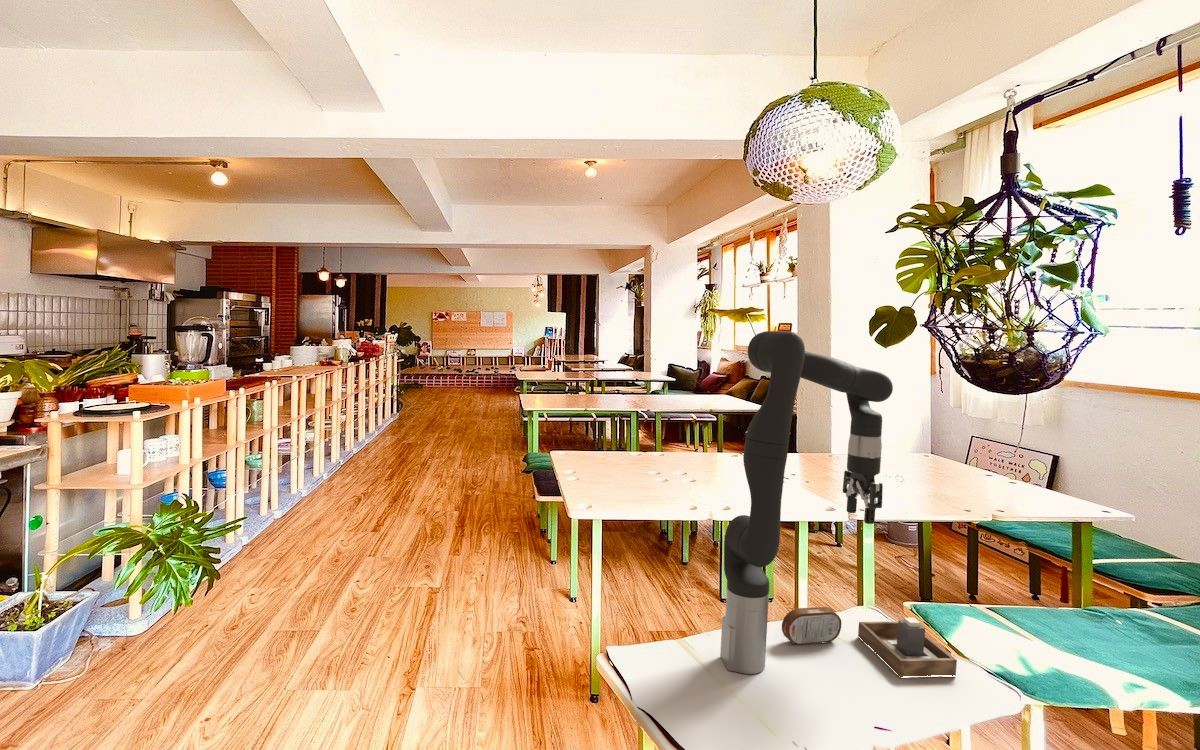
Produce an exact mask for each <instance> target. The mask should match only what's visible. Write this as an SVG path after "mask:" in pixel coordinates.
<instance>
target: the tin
mask: <svg viewBox="0 0 1200 750" xmlns="http://www.w3.org/2000/svg"><path fill="white" fill-rule="evenodd" d="M841 630H842V619H841V617H840V616H839V614H838V613H836V612H835V611H834V610H833V609H832V608H830V607H828V606H819V607H817V606H816V607H814V606H813V607H801V608H800V607H799V608H794V609H791V610H790V611H789V612H788V613H786V615H784V618H783V620H782V622H781V631H782V634H783V636H784V637H785V638H786V639H787V640H789V642H790V643H792V644H794V645H798V646H802V645H801V644H806V645H814V644H813V643H819V644H823V643H822V642H829V643H831V642H833V641H835V640H836V639H837V638H838V636H839V635H840V633H841Z"/></svg>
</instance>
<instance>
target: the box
mask: <svg viewBox="0 0 1200 750" xmlns="http://www.w3.org/2000/svg"><path fill="white" fill-rule="evenodd" d="M857 629H858V631H857V637H858V636H859V637H860V638H861V639H862V640H863V641H864V642H865V643H866V644H867V645H869V646H870V647H871V648H872V649H873V650H874V652H876V654H878V655H879V656H880V657H881V658H882V659H883V660H884V661H885V662H886V663H887V664H888V665H889V666H890V667H891V668H892V669H893V670H894V671H895V672H896V673H897V674H898V675H899V676H900V677H903V676H927V675H928V676H931V675H952V676H953V675H955V676H956V674H957V666H958V665H957V664H958V663H957V661H958V660H957V659H956V658H955V657H954V656H953V655H952V654H950V653H949V652H947V651H946V650H945V649H944V648H943V647H941V646H940V645H939V644H937V643H936V642H935V641H933V640H932V639H931V638H930V637H929V636H927V635H926V634H925V638H924V651H923V656H916V657H905V656H904V655H903V654H902V653H901V652H900V651H899V650H898V649H896V648H897V635H898V621H859V622H858V628H857ZM956 677H957V676H956Z"/></svg>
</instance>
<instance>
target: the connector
mask: <svg viewBox="0 0 1200 750" xmlns="http://www.w3.org/2000/svg"><path fill="white" fill-rule="evenodd" d="M897 622H898V635H897V648H896V649H898V650H899V651H900V652H901V653H902V654H903V655H904V656H905V657H916V656H923V651H924V638H925V635H926V628H925V627H924V626H923V625H921V622H920V621H919V620H918V619H916V618H915V617H903V619H898V621H897Z"/></svg>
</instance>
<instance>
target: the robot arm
mask: <svg viewBox="0 0 1200 750" xmlns="http://www.w3.org/2000/svg"><path fill="white" fill-rule="evenodd" d="M805 349H806V348H805V343H804V340H803V338H802V337H801V336H800V335H799V334H798V333H797V332H792V331H777V330H776V331H775V330H771V331H769V330H766V331H762V332H760V333H756V334H755V335H754V336H753V337H752V338H751V340H750V341H749V344H748V346H747V356H748V361H749V362H750V364H752V366H753V367H754V368H755V369H756V370H759V371H761V372H766V373H770V377H769V384H768V390H767V393H766V397H765V398H764V401H763V402H762V404H761V406H760V407H759V408H758V409H757V412H756V413H755V415H754V416H753V417H752V419H751V421H750V423H749V425H748V426H747V429H746V433H745V439H744V440H745V441H744V448H743V449H744V450H743V454H742V455H743V457H742V458H743V466H744V468H743V469H744V473H745V476H746V481H747V485H748V489H749V493H750V512H749V515H746V514H744V515H743V514H742V515H738V516H736V517H734V518H733V519H732V520H731V521H730V522H729V524H728V525H727V527H726V529H725V534H724V541H723V543H724V544H723V569H724V570H723V572H724V576H725V578H726V596H725V598H726V599H725V613H724V614H725V615H724V616H722V617H721V619H722V620H721V633H720V634H721V635H720V636H721V638H720V652H719V653H720V659H721V660H722V662H723V664H724V666H725V667H726V669H727V671H728V672H729V671H730V672H731V671H733V672H737V673H740V674H744V675H755V674H759V673H762V672H763V671H764V670H765V667H766V659H767V658H766V650H767V634H768V617H769V599H770V580H769V577H768V576H767V575H766V573H765V571H764V570H763V567H764V568H765V567H767V566H769V565H770V564H771V563H772V562H774V560H775V558H776V556H777V554H778V552H779V548H780V538H781V514H782V513H781V511H782V497H783V490H784V489H783V488H784V479H785V472H786V471H785V470H786V463H787V458H788V453H789V445H790V434H791V426H792V419H793V415H794V409H795V401H796V398H797V397H796V396H797V393H798V390H799V385H800V380H801V379H804V380H807V381H809V382H812V383H814V384H817V385H820V386H823V387H825V388H829V389H831V390H834V391H837V392H840V393H845V394H846V398H847V399H846V400H847V403H848V409H849V413H850V419H851V420H850V429H849V431H850V432H849V439H848V443H847V444H848V445H847V446H848V447H847V458H846V459H847V460H846V470H844V473H843V482H842V484H843V485H842V493H843V494H845V497H846V498H847V499H846V513H848V514H856V513H857V508H858V507H857V506H858V505H857V503H858V498H857V497H858V496H859V495H860V499H861V500H863V502H864V506H865V508H864V518H863V519H864V520H863V522H864V523H865V524H868V525H872V524H875V517H876V509H881V508H882V507H883V489H884V488H883V487H884V486H883V483H882V482H876V480H875V476H876V475H877V476H878V475H879V474H880V473H881V465H882V464H881V462H882V450H883V449H882V448H883V447H882V446H883V445H882V444H883V443H882V432H883V431H882V430H883V416H882V413H880V412H878V411H875V410H874V409H873V408H871V405H870V402H872V403H873V402H874V403H880V402H884V401H886V400H888V399H889V398H890V397H891V396H892V394H893V391H894V390H893V389H894V388H893V383H892V380H891V379H890V377H889V376H888V375H886V374H885V373H882V372H880V371H876V370H873V369H868V368H864V367H859V366H855V365H854V364H852V363H849V362H847V361H843V360H842V359H838V358H834V357H832V356H829V355H822V354H819V353H814V352H809V351H806V350H805Z"/></svg>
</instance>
